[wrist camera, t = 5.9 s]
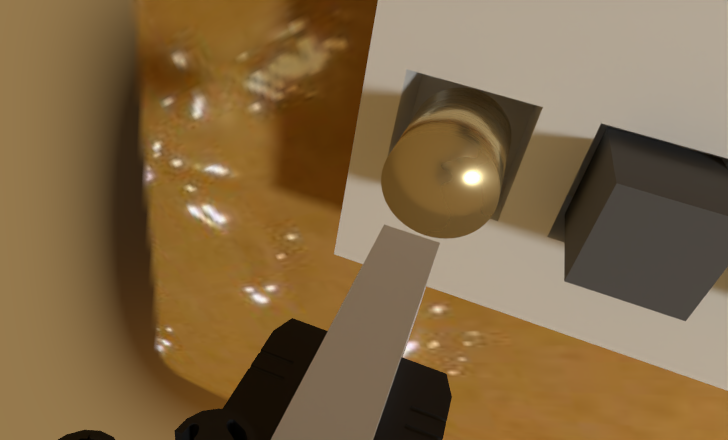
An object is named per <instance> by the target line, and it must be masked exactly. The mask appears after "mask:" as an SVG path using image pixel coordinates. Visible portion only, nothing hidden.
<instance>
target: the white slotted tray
mask: <svg viewBox="0 0 728 440" xmlns="http://www.w3.org/2000/svg"><path fill="white" fill-rule="evenodd" d="M459 87H462V88H470V89H475V90H478V91H481V92H483V93H485V94H487V95H488V96H490V97H491V98H493V99H494V100H495V101H496V102H497V103H498V104H499V105H500V106H501V107H502V109H503V110H504V112H505V113H506V115H507V117H508V119H509V123H510V126H511V145H510V150H509V154H508V159H507V164H506V168H505V173H504V178H503V183H502V187H501V192H500V197H499V201H498V204H497V207H496V210H495V212H494V214H493V215H492V217H491V218H490V219H489V220H488V221H487V223H486V224H485V225H483V226H482V227H481V228H480V229H478V230H476V231H475V232H473V233H470V234H468V235H465V236H462V237H457V238H448V239H444V238H434V237H429V236H426V235H423V234H420V233H418V232H416V231H414V230H412V229H410V228H409V227H407V226H406V225H404V224H403V223H402V222H401V221H400V220H399V219H398V218H397V217H396V216H395V215H394V214H393V213H392V211H391V210H390V208H389V207H388V205H387V203H386V201H385V199H384V196H383V192H382V187H381V175H382V169H383V166H384V163H385V161H386V159H387V157H388V156H389V154H390V153H391V151H392V150H393V148H394V146H395V145H396V143H397V142H398V140H399V139H400V137H401V136H402V134H403V133H404V131H405V129H406V128H407V126H408V125H409V123H410V122H411V120H412V119H413V117H414V116H415V114H416V112H417V111H418V109H419V108H420V106H421V105H422V104H423V103H424V102H425V101H426V100H427V99H428V98H429V97H431V96H432V95H434V94H436V93H438V92H440V91H442V90H446V89H450V88H459ZM607 126H608V127H611V128H615V129H618V130H622V131H626V132H629V133H633V134H636V135H640V136H643V137H647V138H651V139H654V140H658V141H661V142H665V143H669V144H672V145H676V146H679V147H683V148H687V149H690V150H694V151H697V152H701V153H704V154H708V155H712V156H715V157H719V158H722V160H723V162H724V163H725V165H726V167H727V169H728V0H378V3H377V9H376V14H375V20H374V26H373V32H372V38H371V43H370V49H369V55H368V61H367V66H366V72H365V78H364V84H363V90H362V95H361V101H360V107H359V113H358V119H357V124H356V130H355V136H354V142H353V148H352V153H351V159H350V165H349V171H348V177H347V182H346V188H345V194H344V200H343V206H342V211H341V217H340V223H339V229H338V235H337V240H336V246H335V252H334V254H335V255H338V256H341V257H344V258H347V259H350V260H353V261H355V262H358V263H361V264H364V262H365V260H366V258H367V256H368V254H369V252H370V250H371V248H372V247H373V245H374V243H375V241H376V239H377V237H378V235H379V233H380V231H381V229H382V228H383V226H384V225H387V226H390V227H393V228H396V229H399V230H403V231H406V232H409V233H412V234H415V235H418V236H421V237H424V238H427V239H430V240H433V241H436V242H439V243H440V245H439V248H438V251H437V254H436V257H435V260H434V263H433V267H432V270H431V273H430V276H429V279H428V282H427V285H426V286H427V287H430V288H433V289H436V290H439V291H442V292H445V293H448V294H451V295H453V296H456V297H459V298H462V299H465V300H468V301H471V302H474V303H477V304H479V305H482V306H485V307H488V308H491V309H494V310H497V311H500V312H502V313H505V314H508V315H511V316H514V317H517V318H520V319H523V320H526V321H528V322H531V323H534V324H537V325H540V326H543V327H546V328H549V329H551V330H554V331H557V332H560V333H563V334H566V335H569V336H572V337H575V338H577V339H580V340H583V341H586V342H589V343H592V344H595V345H598V346H601V347H603V348H606V349H609V350H612V351H615V352H618V353H621V354H624V355H626V356H629V357H632V358H635V359H638V360H641V361H644V362H647V363H650V364H652V365H655V366H658V367H661V368H664V369H667V370H670V371H673V372H675V373H678V374H681V375H684V376H687V377H690V378H693V379H696V380H699V381H701V382H704V383H707V384H710V385H713V386H716V387H719V388H722V389H725V390H727V391H728V267H727V268H726V270H725V271H724V272H723V273H722V275H721V276H720V277H719V279H718V280H717V281H716V283H715V284H714V285H713V286H712V288H711V289H710V290H709V292H708V293H707V294H706V296H705V297H704V298H703V300H702V301H701V302H700V303H699V305H698V306H697V307H696V309H695V310H694V311H693V313H692V314H691V315H690V316H689V318H688V319H687V320H686V321H683V320H680V319H677V318H674V317H671V316H668V315H665V314H662V313H659V312H656V311H653V310H650V309H646V308H643V307H640V306H637V305H634V304H631V303H628V302H625V301H622V300H619V299H616V298H613V297H610V296H607V295H604V294H601V293H598V292H595V291H592V290H589V289H586V288H583V287H580V286H577V285H574V284H571V283H568V282H565V281H564V250H565V212H566V210H567V208H568V206H569V204H570V202H571V200H572V198H573V196H574V194H575V192H576V190H577V188H578V186H579V184H580V181H581V179H582V177H583V175H584V173H585V171H586V169H587V167H588V165H589V163H590V161H591V159H592V157H593V155H594V153H595V150H596V148H597V146H598V144H599V142H600V140H601V138H602V136H603V134H604V132H605V130H606V128H607Z"/></svg>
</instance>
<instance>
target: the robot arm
mask: <svg viewBox="0 0 728 440" xmlns="http://www.w3.org/2000/svg"><path fill="white" fill-rule="evenodd" d="M439 245H440V243H439V242H436V241H433V240H430V239H427V238H424V237H421V236H418V235H415V234H412V233H409V232H406V231H403V230H399V229H396V228H393V227H390V226H387V225H384V226H383V228H382V229H381V231H380V233H379V235H378V237H377V239H376V241H375V243H374V245H373V247H372V248H371V250H370V252H369V254H368V256H367V258H366V260H365V262H364V264H363V266H362V267H361V269H360V271H359V273H358V275H357V277H356V279H355V281H354V283H353V284H352V286H351V288H350V290H349V292H348V294H347V296H346V298H345V300H344V302H343V303H342V305H341V307H340V309H339V311H338V313H337V315H336V317H335V319H334V321H333V322H332V324H331V326H330V328H329V330H328V331H326V330H323V329H320V328H317V327H315V326H312V325H309V324H307V323H304V322H301V321H299V320H296V319H293V318H292V319H290V320H289V321H287V322H286V323H284V324H283V325H281V326H280V327H278V328H277V329H275V330H274V331H273V332H272V334H271V335H270V337H269V338H268V340H267V341H266V343H265V344H264V346H263V347H262V349H261V352H260V353H259V354H258V355H257V357H256V358H255V360H254V361H253V363H252V364H251V367H250V369H248V371H247V372H246V374H245V375H244V377H243V378H242V380H241V381H240V383H239V384H238V386H237V387H236V389H235V391H234V392H233V394H232V395H231V397H230V398H229V400H228V401H227V403H226V405H225V406H224V408H223V409H213V410H207V411H201V412H199V413H197V414H195V415H194V416H191V417H190V418H187V419H186V420H185V421H184V422H183V423H182V424H181V425H180V426H179V427H178V428H177V429H176V430H175V440H442V439H443V435H444V430H445V425H446V420H447V416H448V412H449V407H450V402H451V398H452V396H451V392H450V388H449V383H448V379H447V375H446V374H445V373H443V372H440V371H437V370H435V369H432V368H429V367H426V366H424V365H421V364H418V363H416V362H413V361H410V360H408V359H405V358H402V357H403V354H404V351H405V348H406V346H407V343H408V340H409V337H410V334H411V331H412V328H413V325H414V322H415V319H416V316H417V313H418V310H419V307H420V304H421V301H422V297H423V294H424V291H425V288H426V285H427V282H428V279H429V276H430V273H431V270H432V267H433V263H434V260H435V257H436V254H437V251H438V248H439ZM58 440H115V439H114V437H112V436H110V435H108V434H106V433H104V432H102V431H94V430H82V431H78V432H75V433H71V434H67V435H65V436H63V437H62V438H60V439H58Z"/></svg>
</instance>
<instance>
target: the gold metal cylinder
mask: <svg viewBox="0 0 728 440" xmlns="http://www.w3.org/2000/svg"><path fill="white" fill-rule="evenodd" d="M510 145H511V126H510V123H509V119H508V117H507V115H506V113H505V112H504V110H503V109H502V107H501V106H500V105H499V104H498V103H497V102H496V101H495V100H494V99H493V98H491V97H490V96H488V95H487V94H485V93H483V92H481V91H478V90H475V89H470V88H462V87H459V88H450V89H446V90H442V91H440V92H438V93H436V94H434V95H432V96H431V97H429V98H428V99H427V100H426V101H425V102H424V103H423V104H422V105H421V106H420V108H419V109H418V111H417V112H416V114H415V116H414V117H413V119H412V120H411V122H410V123H409V125H408V126H407V128H406V129H405V131H404V133H403V134H402V136H401V137H400V139H399V140H398V142H397V143H396V145H395V146H394V148H393V150H392V151H391V153H390V154H389V156H388V157H387V159H386V161H385V163H384V166H383V169H382V175H381V187H382V192H383V196H384V199H385V201H386V203H387V205H388V207H389V208H390V210H391V211H392V213H393V214H394V215H395V216H396V217H397V218H398V219H399V220H400V221H401V222H402V223H403V224H404V225H406V226H407V227H409V228H410V229H412V230H414V231H416V232H418V233H420V234H423V235H426V236H429V237H434V238H444V239H448V238H457V237H462V236H465V235H468V234H470V233H473V232H475V231H476V230H478V229H480V228H481V227H482V226H483V225H485V224H486V223H487V221H488V220H489V219H490V218H491V217H492V215H493V214H494V212H495V210H496V207H497V204H498V201H499V197H500V192H501V187H502V183H503V178H504V173H505V168H506V164H507V159H508V154H509V150H510Z"/></svg>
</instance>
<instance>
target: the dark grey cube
mask: <svg viewBox="0 0 728 440" xmlns="http://www.w3.org/2000/svg"><path fill="white" fill-rule="evenodd" d="M727 267H728V169H727V167H726V165H725V163H724V162H723V160H722V158H719V157H715V156H712V155H708V154H704V153H701V152H697V151H694V150H690V149H687V148H683V147H679V146H676V145H672V144H669V143H665V142H661V141H658V140H654V139H651V138H647V137H643V136H640V135H636V134H633V133H629V132H626V131H622V130H618V129H615V128H611V127H608V126H607V128H606V130H605V132H604V134H603V136H602V138H601V140H600V142H599V144H598V146H597V148H596V150H595V153H594V155H593V157H592V159H591V161H590V163H589V165H588V167H587V169H586V171H585V173H584V175H583V177H582V179H581V181H580V184H579V186H578V188H577V190H576V192H575V194H574V196H573V198H572V200H571V202H570V204H569V206H568V208H567V210H566V212H565V250H564V281H565V282H568V283H571V284H574V285H577V286H580V287H583V288H586V289H589V290H592V291H595V292H598V293H601V294H604V295H607V296H610V297H613V298H616V299H619V300H622V301H625V302H628V303H631V304H634V305H637V306H640V307H643V308H646V309H650V310H653V311H656V312H659V313H662V314H665V315H668V316H671V317H674V318H677V319H680V320H683V321H686V320H687V319H688V318H689V316H690V315H691V314H692V313H693V311H694V310H695V309H696V307H697V306H698V305H699V303H700V302H701V301H702V300H703V298H704V297H705V296H706V294H707V293H708V292H709V290H710V289H711V288H712V286H713V285H714V284H715V283H716V281H717V280H718V279H719V277H720V276H721V275H722V273H723V272H724V271H725V270H726V268H727Z"/></svg>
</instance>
